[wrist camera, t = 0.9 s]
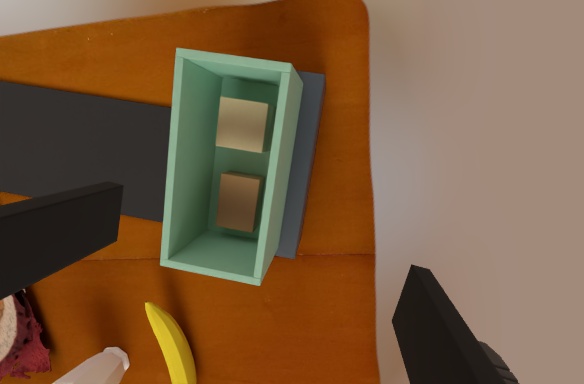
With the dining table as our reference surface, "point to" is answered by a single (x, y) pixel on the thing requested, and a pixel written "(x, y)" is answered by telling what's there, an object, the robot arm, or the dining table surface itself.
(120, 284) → the dining table surface
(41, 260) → the robot arm
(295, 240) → the block
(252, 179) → the brown rectangular tile
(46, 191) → the mat
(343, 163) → the dining table surface
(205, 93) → the open box
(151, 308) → the banana
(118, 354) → the cup
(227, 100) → the beige square block
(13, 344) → the plate with food
